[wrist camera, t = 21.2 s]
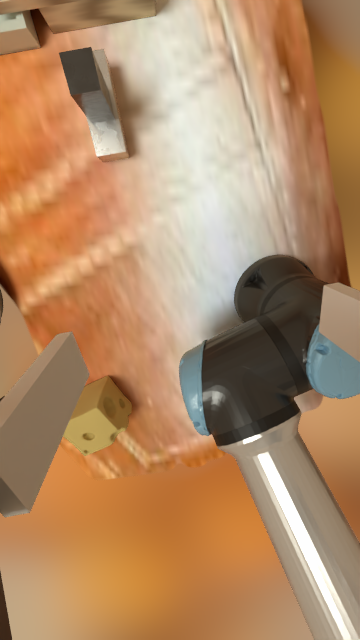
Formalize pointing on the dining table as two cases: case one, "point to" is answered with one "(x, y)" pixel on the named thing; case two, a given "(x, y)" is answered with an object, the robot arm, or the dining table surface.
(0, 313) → the cake pan
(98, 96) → the scraper
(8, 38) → the box
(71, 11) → the ledge
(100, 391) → the cheese
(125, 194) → the dining table surface
